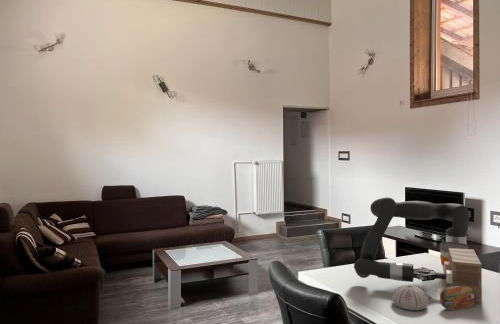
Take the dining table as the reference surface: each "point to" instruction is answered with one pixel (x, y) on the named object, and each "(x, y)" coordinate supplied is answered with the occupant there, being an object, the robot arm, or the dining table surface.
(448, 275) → the cream key
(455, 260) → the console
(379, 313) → the dining table surface
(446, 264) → the terracotta key
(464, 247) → the reusable coffee cup
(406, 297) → the sea urchin shell
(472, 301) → the tin
